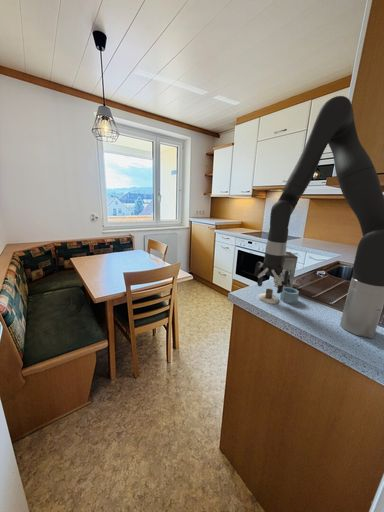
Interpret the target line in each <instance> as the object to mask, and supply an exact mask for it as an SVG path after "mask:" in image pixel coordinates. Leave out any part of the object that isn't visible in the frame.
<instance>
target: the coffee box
mask: <svg viewBox="0 0 384 512" xmlns="http://www.w3.org/2000/svg"><path fill="white" fill-rule="evenodd" d="M298 258H299V257H298V256H297V255H295V254H294V253H292V252H291V251H286V253H285V258H284V264H283V269H285V270H291V274H290V282H289V284H288V285H286V286H285V285H284V286H283V287H290V288H293V285H294V281H295V280H294V279H295V275H296V274H295V273H296V269H297V264H298V263H297V262H298ZM281 275H282V277H283V280H284V276H285V275H284V274H283V272H282V273H281ZM278 277H279V276H278ZM273 283H274V284H275V286H277V287H278V285H279V283H278V281H277V280H276V279H275V277H273Z"/></svg>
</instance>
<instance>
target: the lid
mask: <svg viewBox="0 0 384 512" xmlns="http://www.w3.org/2000/svg"><path fill="white" fill-rule="evenodd" d="M273 292H274V290H273V289H272V288H266V291H265V293H264V292H263V293H260V294H258V300H260V301H261V302H263V303H266V304H274V305H275V304H277V303H279V300H280V298H278V296H276V295H275V294H273Z"/></svg>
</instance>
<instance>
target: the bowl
mask: <svg viewBox="0 0 384 512" xmlns="http://www.w3.org/2000/svg"><path fill="white" fill-rule="evenodd" d="M279 294H280V295H279V300H281V301H282V302H283V303H286V304H288V305H289V304H290V305H296V304H297V303H298V301H299V295H300V291H299V290H297V289H296V288H293V287H292V288H290V287H283V291H282V292H281V293H279Z"/></svg>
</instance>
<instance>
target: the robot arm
mask: <svg viewBox="0 0 384 512" xmlns="http://www.w3.org/2000/svg"><path fill="white" fill-rule="evenodd" d="M327 147H329V148H330V150H331V153H332V156H333V161H334V162H333V163H334V169H335V175H336V177H337V178H336V179H337V182H338V185H339V188H340V190H341V193H342V195H343V198H344V199H345V201H346V203H347V205H348V206H349V208H350V209H351V210H352V212H353V213H354V215H355V216H356V218H357V221H358V222H359V227H360V230H361V235H362V237H361V239H360V240H359V242H358V245H357V249H356V252H355V257H354V261H353V264H352V271H353V272H352V276H351V279H350V283H349V288H348V291H347V295H346V299H345V303H344V308H343V311H342V314H341V317H340V323H339V325H340V327H341V328H342V329H344V330H345V331H347V332H349V333H351V334H353V335H355V336H359V337H363V338H369V339H374V337H375V334H376V331H377V328H378V325H379V321H380V318H381V314H382V312H383V309H384V192H383V189H382V185H381V182H380V179H379V176H378V173H377V171H376V167H375V166H374V163H373V161H372V159H371V157H370V156H369V154H368V153H367V151H366V150H365V148H364V146H363V145H362V143H361V141H360V139H359V136H358V132H357V128H356V123H355V113H354V108H353V104H352V102H351V100H350V99H349V98H348V97H347V96H345V95H335V96H333V97H331V98H330V99H328V100H327V101H326V102H325V103H323V104H322V105H321V107H320V109H319V111H318V114H317V115H316V118H315V120H314V123H313V125H312V129H311V131H310V134H309V136H308V138H307V141H306V143H305V145H304V148H303V150H302V153H301V154H300V157H299V159H298V160H297V162H296V164H295V166H294V168H293V170H292V172H291V173H290V175H289V177H288V179H287V181H286V182H285V185H284V186H283V191H282V193H281V194H280V196H279V199H278V200H277V201H276V202H274V204H273V205H272V207H271V209H270V219H269V230H268V235H267V242H266V244H265V245H266V246H265V253H264V258H263V262H262V261H257V262H256V263H255V268H254V273H253V275H254V276H256V277H257V286H258V287H262V286H263V283H264V282H263V281H264V276H265V275H266V276H267V277H271V278H274V277H275V279H276V280H277V281H278V283H279V285H278V286H277V291H276V293H277V294H281V292H282V291H283V286H284V285H285V286H286V285H288V284H289V282H290V274H291V270H285V269H283V264H284V258H285V253H286V252H287V241H288V236H289V225H290V222H291V221H290V220H291V215H292V214H293V213H294V210H295V209H296V206H297V205H298V202H299V201H300V198H301V197H302V196H303V194H304V193H305V191H306V190H307V188H308V186H309V184H310V183H311V181H312V179H313V177H314V176H315V174H316V171H317V168H318V166H319V163H320V161H321V159H322V155H323V154H324V152H325V150H326V148H327ZM261 268H263V269H262V271H261ZM282 272H283V274H284V275H285V276H284V280H283V277H282V275H281V273H282ZM278 276H279V277H278Z"/></svg>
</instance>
